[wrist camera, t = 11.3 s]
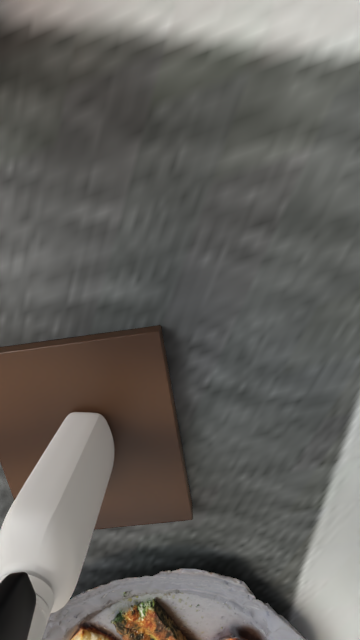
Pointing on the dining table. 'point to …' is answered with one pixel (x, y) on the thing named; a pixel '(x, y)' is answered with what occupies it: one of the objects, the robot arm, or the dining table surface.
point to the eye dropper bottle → (58, 513)
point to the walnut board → (113, 404)
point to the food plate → (169, 611)
